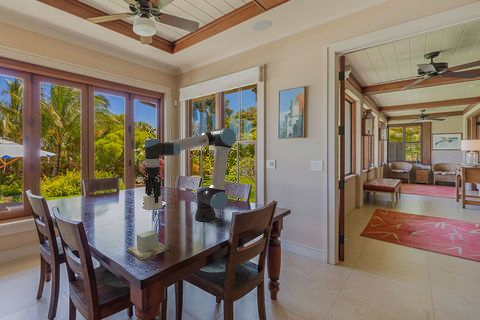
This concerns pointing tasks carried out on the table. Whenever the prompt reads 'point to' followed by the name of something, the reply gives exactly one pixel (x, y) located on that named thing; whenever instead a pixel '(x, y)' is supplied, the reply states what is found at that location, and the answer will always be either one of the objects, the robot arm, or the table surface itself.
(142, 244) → the sage brick
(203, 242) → the table surface
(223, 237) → the table surface
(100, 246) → the table surface
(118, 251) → the table surface
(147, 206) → the cream brick
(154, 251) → the base plate
